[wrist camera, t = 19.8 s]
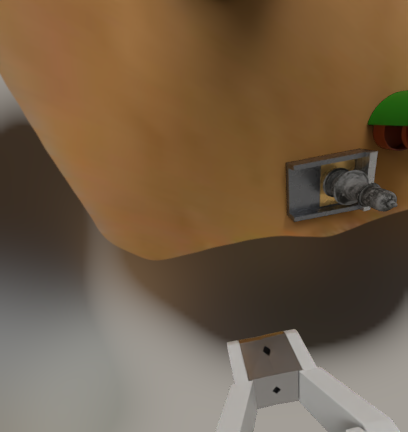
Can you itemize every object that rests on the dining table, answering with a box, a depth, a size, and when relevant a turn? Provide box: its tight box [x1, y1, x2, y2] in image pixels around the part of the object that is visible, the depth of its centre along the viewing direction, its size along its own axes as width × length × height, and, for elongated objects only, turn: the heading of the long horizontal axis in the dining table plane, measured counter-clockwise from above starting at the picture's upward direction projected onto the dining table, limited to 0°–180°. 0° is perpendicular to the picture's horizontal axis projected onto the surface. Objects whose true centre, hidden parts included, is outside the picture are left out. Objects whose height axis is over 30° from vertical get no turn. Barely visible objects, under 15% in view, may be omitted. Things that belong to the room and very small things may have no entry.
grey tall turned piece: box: [323, 168, 397, 211], centre depth 34 cm, size 6×6×12 cm
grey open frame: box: [286, 149, 378, 222], centre depth 39 cm, size 13×10×4 cm
